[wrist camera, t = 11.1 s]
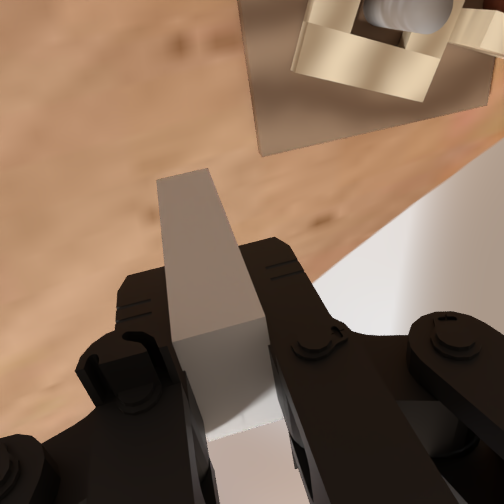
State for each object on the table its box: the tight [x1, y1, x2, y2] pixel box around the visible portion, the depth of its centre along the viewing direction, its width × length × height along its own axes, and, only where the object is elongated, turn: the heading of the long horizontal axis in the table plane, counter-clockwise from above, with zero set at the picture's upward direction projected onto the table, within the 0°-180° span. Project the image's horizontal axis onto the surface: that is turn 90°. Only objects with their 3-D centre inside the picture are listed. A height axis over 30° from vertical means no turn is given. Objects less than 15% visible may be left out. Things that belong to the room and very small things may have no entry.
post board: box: [237, 0, 504, 157], centre depth 30 cm, size 20×22×8 cm
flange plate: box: [291, 0, 504, 102], centre depth 31 cm, size 19×12×5 cm, turn 76°
